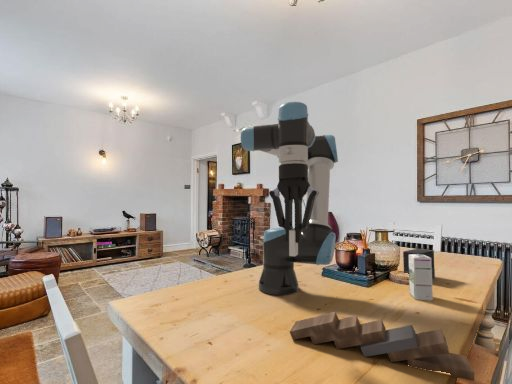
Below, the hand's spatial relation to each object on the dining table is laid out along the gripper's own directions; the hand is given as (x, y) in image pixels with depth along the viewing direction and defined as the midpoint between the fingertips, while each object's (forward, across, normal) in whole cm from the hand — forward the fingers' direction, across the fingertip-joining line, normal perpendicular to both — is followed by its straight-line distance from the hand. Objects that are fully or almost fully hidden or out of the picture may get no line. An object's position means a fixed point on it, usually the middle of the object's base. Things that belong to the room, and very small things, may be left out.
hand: (293, 255), depth 71 cm
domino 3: (+19, +11, 0) cm, 22 cm away
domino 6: (+19, +25, 0) cm, 32 cm away
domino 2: (+19, +5, -1) cm, 20 cm away
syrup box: (+21, +32, +43) cm, 58 cm away
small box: (+21, +34, +70) cm, 81 cm away
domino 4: (+19, +17, -1) cm, 25 cm away
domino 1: (+19, 0, -1) cm, 19 cm away
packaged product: (+21, +11, +64) cm, 68 cm away
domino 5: (+19, +22, -1) cm, 29 cm away
